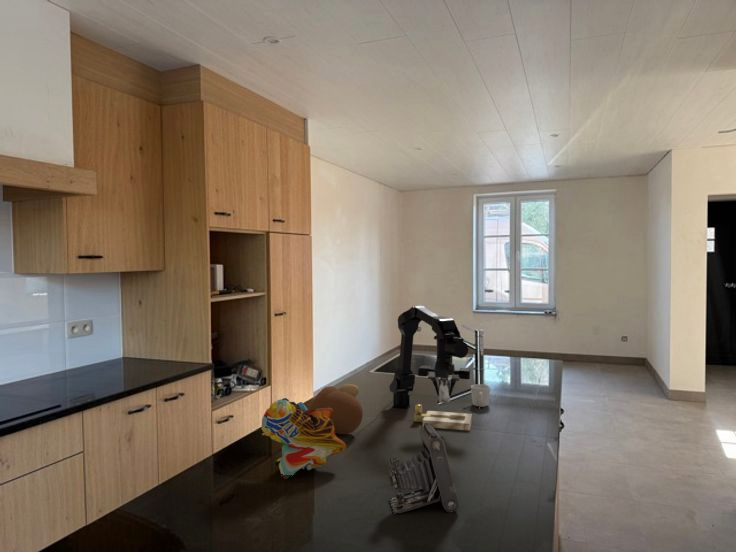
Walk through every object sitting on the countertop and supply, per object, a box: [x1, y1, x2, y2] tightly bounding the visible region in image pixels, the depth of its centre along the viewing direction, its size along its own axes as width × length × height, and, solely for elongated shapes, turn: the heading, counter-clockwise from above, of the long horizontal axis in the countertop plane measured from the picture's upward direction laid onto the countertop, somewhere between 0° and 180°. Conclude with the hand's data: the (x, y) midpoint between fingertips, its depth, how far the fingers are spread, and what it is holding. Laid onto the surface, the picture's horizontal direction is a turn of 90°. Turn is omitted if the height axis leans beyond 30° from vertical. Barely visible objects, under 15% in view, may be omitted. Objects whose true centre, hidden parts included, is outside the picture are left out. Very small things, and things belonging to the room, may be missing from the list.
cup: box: [470, 383, 491, 408], centre depth 213 cm, size 11×8×8 cm
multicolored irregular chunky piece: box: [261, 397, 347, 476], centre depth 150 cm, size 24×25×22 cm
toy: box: [307, 383, 364, 435], centre depth 182 cm, size 24×16×20 cm
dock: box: [422, 410, 473, 431], centre depth 191 cm, size 17×12×2 cm
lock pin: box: [413, 403, 431, 423], centre depth 193 cm, size 6×3×6 cm, turn 74°
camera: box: [388, 423, 460, 514], centre depth 127 cm, size 11×17×20 cm, turn 95°
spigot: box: [438, 377, 451, 404], centre depth 186 cm, size 4×4×9 cm
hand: (444, 395), depth 186 cm, fingers closed on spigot, 4 cm apart
